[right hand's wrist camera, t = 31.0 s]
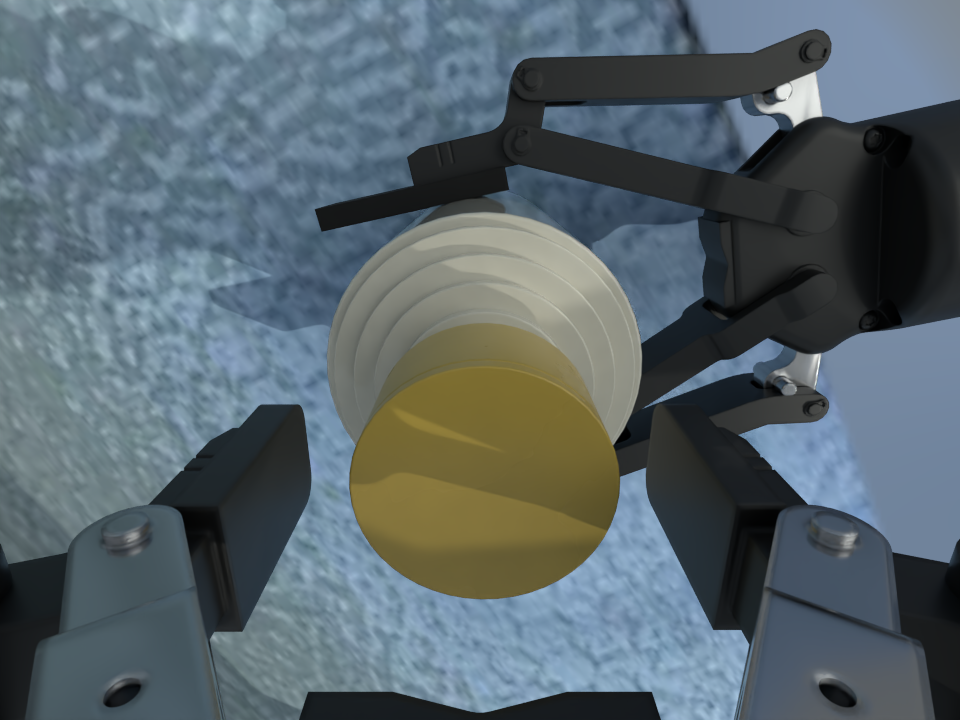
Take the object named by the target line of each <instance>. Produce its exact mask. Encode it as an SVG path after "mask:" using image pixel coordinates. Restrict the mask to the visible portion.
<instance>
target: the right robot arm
mask: <svg viewBox="0 0 960 720" xmlns="http://www.w3.org/2000/svg"><path fill="white" fill-rule="evenodd" d="M646 488H647V494H648V498H649V501H650V503H651V506H652V508H653V510H654V512H655V514H656V516H657V518H658V520H659V522H660V524H661V526H662V528H663V530H664V532H665V534H666V536H667V538H668V540H669V542H670V544H671V546H672V548H673V550H674V552H675V554H676V556H677V558H678V560H679V562H680V564H681V566H682V568H683V570H684V572H685V574H686V576H687V578H688V580H689V582H690V584H691V586H692V588H693V590H694V592H695V594H696V596H697V598H698V600H699V602H700V604H701V606H702V608H703V610H704V612H705V614H706V616H707V618H708V620H709V622H710V624H711V626H712V628H713V630H742V632H743V634H744V636H745V638H746V639H747V641H748V643H749V649H748V654H747V658H746V663H745V668H744V673H743V678H742V683H741V687H740V692H739V697H738V702H737V707H736V712H735V717H734V720H960V539H959V541H958V542H957V544H956V546H955V549H954V552H953V555H952V557H951V560H950V563H944V562H940V561H934V560H929V559H924V558H919V557H914V556H909V555H904V554H898V553H894V552H892V549H891V546H890V544H889V542H888V541H887V539H886V538H885V537H884V536H883V535H882V534H881V533H880V532H879V531H877V530H876V529H875V528H873V527H872V526H871V525H869V524H867V523H866V522H864V521H862V520H860V519H858V518H856V517H854V516H852V515H850V514H847V513H844V512H842V511H838V510H835V509H832V508H827V507H823V506H816V505H808V504H807V503H806V502H805V501H804V500H803V499H802V498H801V497H800V496H799V495H798V494H797V493H796V492H795V491H794V489H793V488H792V487H791V486H790V485H789V484H788V483H787V482H786V481H785V480H784V479H783V478H782V477H781V476H780V475H779V474H778V473H777V472H776V471H775V470H772V466H771V465H770V464H769V463H768V462H767V461H766V460H765V459H764V458H763V457H760V454H759V453H758V452H757V451H756V450H755V449H754V448H753V447H752V445H751V444H750V443H749V442H748V441H747V440H746V439H744V438H742V437H740V436H738V435H737V434H735V433H733V432H731V431H729V430H728V429H726V428H724V427H717V426H716V425H715V424H714V423H713V422H712V421H711V419H710V418H709V417H708V416H707V415H706V414H705V413H704V412H703V411H702V409H701V408H700V407H699V406H698V405H697V404H657V405H656V407H655V409H654V412H653V418H652V426H651V434H650V443H649V451H648V459H647V468H646ZM310 490H311V467H310V459H309V451H308V443H307V434H306V426H305V418H304V413H303V410H302V408H301V406H300V405H260V406H259V407H258V408H257V409H256V410H255V411H254V412H253V413H252V414H251V415H250V416H249V417H248V419H247V420H246V421H245V422H244V423H243V424H242V425H241V426H240V427H239V428H232V429H230V430H229V431H227V432H225V433H223V434H221V435H220V436H218V437H216V438H214V439H212V440H211V441H209V443H208V444H207V445H206V446H205V447H204V448H203V449H202V450H201V451H200V452H199V453H198V454H197V455H196V458H193V459H192V460H191V461H190V462H189V463H188V464H187V465H186V466H185V467H184V471H181V472H180V473H179V474H178V475H177V476H176V477H175V478H174V479H173V480H172V481H171V482H170V483H169V484H168V485H167V486H166V487H165V488H164V489H163V490H162V491H161V492H160V493H159V494H158V495H157V496H156V497H155V499H154V500H153V501H152V502H151V503H150V504H149V505H144V506H137V507H133V508H128V509H125V510H122V511H118V512H116V513H113V514H110V515H108V516H106V517H104V518H102V519H100V520H98V521H96V522H94V523H93V524H91V525H89V526H88V527H87V528H85V529H84V530H83V531H81V532H80V533H79V534H78V535H77V536H76V537H75V538H74V539H73V541H72V542H71V544H70V546H69V549H68V553H64V554H59V555H54V556H49V557H44V558H39V559H33V560H28V561H23V562H18V563H13V564H8V563H7V560H6V557H5V555H4V552H3V549H2V546H1V544H0V720H226V717H225V712H224V707H223V702H222V697H221V692H220V687H219V683H218V678H217V673H216V668H215V663H214V658H213V654H212V649H211V645H210V638H211V636H212V635H213V633H214V632H242V631H243V629H244V627H245V625H246V623H247V621H248V619H249V617H250V615H251V613H252V611H253V610H254V608H255V606H256V604H257V602H258V600H259V598H260V596H261V594H262V592H263V590H264V588H265V586H266V584H267V582H268V580H269V578H270V576H271V574H272V572H273V570H274V568H275V566H276V564H277V562H278V560H279V558H280V556H281V554H282V552H283V550H284V548H285V546H286V544H287V542H288V540H289V538H290V536H291V534H292V532H293V530H294V528H295V526H296V524H297V522H298V520H299V518H300V516H301V514H302V513H303V511H304V509H305V507H306V505H307V502H308V499H309V495H310ZM299 720H661V719H660V716H659V713H658V709H657V706H656V703H655V700H654V697H653V694H652V692H565V693H561V694H557V695H553V696H549V697H545V698H541V699H537V700H534V701H530V702H526V703H522V704H518V705H514V706H510V707H506V708H502V709H498V710H494V711H490V712H485V713H475V712H470V711H466V710H462V709H458V708H454V707H450V706H446V705H442V704H438V703H434V702H430V701H426V700H423V699H419V698H415V697H411V696H407V695H403V694H399V693H395V692H308V694H307V697H306V700H305V703H304V706H303V709H302V713H301V716H300V719H299Z"/></svg>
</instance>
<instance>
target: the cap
mask: <svg viewBox="0 0 960 720" xmlns="http://www.w3.org/2000/svg"><path fill="white" fill-rule="evenodd" d="M349 489H350V496H351V503H352V507H353V510H354V513H355V517H356V520H357V522H358V524H359V526H360V528H361V530H362V533H363V534H364V536H365V537H366V539H367V540H368V542H369V543H370V545H371V546H372V547H373V549H374V550H375V551H376V552H377V553H378V555H379V556H380V557H381V558H382V559H383V560H384V561H385V562H387V563H388V564H389V565H390V566H391V567H392V568H393V569H395V570H396V571H398V572H399V573H400V574H402V575H403V576H405V577H406V578H408V579H410V580H412V581H413V582H415V583H417V584H419V585H421V586H424V587H426V588H429V589H431V590H433V591H437V592H440V593H443V594H447V595H451V596H457V597H462V598H471V599H499V598H507V597H514V596H518V595H522V594H526V593H530V592H533V591H536V590H538V589H541V588H544V587H546V586H548V585H550V584H552V583H554V582H556V581H558V580H560V579H562V578H563V577H565V576H566V575H568V574H569V573H571V572H572V571H574V570H575V569H576V568H577V567H578V566H580V565H581V564H582V563H583V562H584V561H585V560H586V559H587V558H588V557H589V556H590V555H591V554H592V553H593V552H594V551H595V549H596V548H597V547H598V545H599V544H600V543H601V541H602V540H603V538H604V537H605V535H606V533H607V531H608V529H609V527H610V525H611V523H612V520H613V517H614V515H615V512H616V508H617V503H618V499H619V490H620V475H619V465H618V461H617V457H616V453H615V449H614V447H613V444H612V442H611V440H610V437H609V435H608V433H607V431H606V429H605V426H604V424H603V422H602V420H601V418H600V415H599V413H598V411H597V409H596V407H595V404H594V402H593V400H592V398H591V396H590V394H589V391H588V389H587V387H586V385H585V383H584V380H583V379H582V377H581V375H580V374H579V372H578V370H577V369H576V367H575V366H574V365H573V364H572V363H571V361H570V360H569V359H568V358H567V357H566V356H565V355H564V354H563V353H562V352H561V351H560V350H559V349H558V348H556V347H555V346H554V345H552V344H551V343H549V342H548V341H546V340H545V339H543V338H541V337H539V336H537V335H535V334H533V333H531V332H528V331H526V330H523V329H520V328H517V327H513V326H508V325H503V324H493V323H474V324H467V325H460V326H456V327H452V328H449V329H446V330H443V331H440V332H438V333H436V334H434V335H431V336H429V337H428V338H426V339H424V340H423V341H421V342H419V343H418V344H416V345H415V346H414V347H413V348H411V349H410V350H409V351H408V352H407V353H405V355H404V356H403V357H402V358H401V359H400V360H399V361H398V362H397V363H396V365H395V366H394V367H393V369H392V370H391V372H390V373H389V375H388V377H387V379H386V381H385V383H384V385H383V387H382V389H381V391H380V393H379V395H378V398H377V400H376V402H375V404H374V406H373V409H372V411H371V413H370V415H369V417H368V420H367V422H366V424H365V426H364V429H363V431H362V433H361V435H360V437H359V440H358V442H357V445H356V448H355V451H354V454H353V457H352V462H351V468H350V484H349Z"/></svg>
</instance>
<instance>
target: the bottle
mask: <svg viewBox="0 0 960 720" xmlns="http://www.w3.org/2000/svg"><path fill="white" fill-rule="evenodd" d="M474 323H493V324H503V325H508V326H513V327H517V328H520V329H523V330H526V331H528V332H531V333H533V334H535V335H537V336H539V337H541V338H543V339H545V340H546V341H548V342H549V343H551V344H552V345H554V346H555V347H556V348H558V349H559V350H560V351H561V352H562V353H563V354H564V355H565V356H566V357H567V358H568V359H569V360H570V361H571V363H572V364H573V365H574V366H575V367H576V369H577V370H578V372H579V374H580V375H581V377H582V379H583V380H584V383H585V385H586V387H587V389H588V391H589V394H590V396H591V398H592V400H593V402H594V404H595V407H596V409H597V411H598V413H599V415H600V418H601V420H602V422H603V424H604V426H605V429H606V431H607V433H608V435H609V437H610V440H611V442H612V444H613V445H614V443H615V442H616V440H617V439H618V437H619V436H620V434H621V433H622V431H623V430H624V428H625V426H626V423H627V421H628V419H629V417H630V415H631V413H632V410H633V407H634V404H635V401H636V398H637V395H638V391H639V385H640V380H641V373H642V349H641V339H640V333H639V329H638V325H637V321H636V317H635V314H634V312H633V309H632V307H631V304H630V302H629V300H628V297H627V296H626V294H625V292H624V290H623V289H622V287H621V285H620V284H619V282H618V280H617V279H616V278H615V276H614V275H613V274H612V273H611V271H610V270H609V269H608V268H607V266H606V265H605V264H604V263H603V262H602V261H601V260H600V259H599V258H598V257H597V256H596V255H595V254H594V253H593V252H592V251H591V250H590V249H588V248H587V247H586V246H585V245H584V244H582V243H581V242H580V241H579V240H578V239H576V238H575V237H574V236H573V235H571V234H570V233H569V232H568V231H567V230H565V229H564V228H563V227H562V226H560V225H559V224H558V223H557V222H556V221H554V220H553V219H552V218H551V217H549V216H548V215H547V214H546V213H545V212H543V211H542V210H541V209H540V208H539V207H537V206H536V205H534V204H533V203H532V202H530V201H529V200H527V199H525V198H523V197H521V196H519V195H517V194H514V193H511V192H509V191H502V192H497V193H493V194H488V195H484V196H480V197H475V198H471V199H466V200H461V201H456V202H452V203H448V204H444V205H439V206H435V207H430V208H429V209H427V210H426V211H425V212H424V213H423V214H421V215H420V216H419V217H418V218H417V219H415V220H414V221H413V222H412V223H411V224H409V225H408V226H407V227H406V228H405V229H403V230H402V231H401V232H400V233H399V234H397V235H396V236H395V237H394V238H393V239H391V240H390V241H389V242H388V243H387V244H385V245H384V246H383V247H382V248H381V249H380V250H379V251H377V252H376V253H375V254H374V255H373V256H372V257H371V258H370V259H369V260H368V261H367V262H366V263H365V264H364V265H363V266H362V268H361V269H360V270H359V271H358V273H357V274H356V275H355V276H354V278H353V279H352V280H351V282H350V284H349V285H348V287H347V289H346V290H345V292H344V294H343V296H342V297H341V300H340V302H339V305H338V307H337V309H336V312H335V314H334V317H333V321H332V325H331V329H330V333H329V339H328V348H327V374H328V380H329V385H330V391H331V395H332V398H333V401H334V404H335V408H336V411H337V413H338V415H339V417H340V419H341V421H342V424H343V426H344V428H345V429H346V431H347V433H348V434H349V436H350V437H351V439H352V440H353V442H354V444H355V445H357V442H358V440H359V437H360V435H361V433H362V431H363V429H364V426H365V424H366V422H367V420H368V417H369V415H370V413H371V411H372V409H373V406H374V404H375V402H376V400H377V398H378V395H379V393H380V391H381V389H382V387H383V385H384V383H385V381H386V379H387V377H388V375H389V373H390V372H391V370H392V369H393V367H394V366H395V365H396V363H397V362H398V361H399V360H400V359H401V358H402V357H403V356H404V355H405V353H407V352H408V351H409V350H410V349H411V348H413V347H414V346H415V345H416V344H418V343H419V342H421V341H423V340H424V339H426V338H428V337H429V336H431V335H434V334H436V333H438V332H440V331H443V330H446V329H449V328H452V327H456V326H460V325H467V324H474Z"/></svg>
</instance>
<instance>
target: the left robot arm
mask: <svg viewBox="0 0 960 720" xmlns="http://www.w3.org/2000/svg"><path fill="white" fill-rule="evenodd" d="M830 53H831V41H830V38H829V36H828V35H827V34H826V33H825V32H824V31H821V30H817V29H815V30H810V31H806V32H804V33H801V34H799V35H796V36H794V37H791V38H789V39H786V40H784V41H781V42H779V43H776V44H774V45H771V46H769V47H766V48H764V49H761V50H759V51H756V52H754V53H731V54H684V55H638V56H592V57H546V58H529V59H525V60H523V61H522V62H520V63H519V64H518V65H517V67H516V69H515V70H514V72H513V75H512V78H511V80H510V84H509V92H508V99H507V106H506V113H505V117H504V120H503V122H502V123H501V124H500V125H499V127H497V128H496V129H494V130H492V131H490V132H487V133H482V134H478V135H474V136H469V137H465V138H461V139H456V140H452V141H448V142H443V143H439V144H435V145H430V146H426V147H422V148H419V149H418V150H417V151H415V152H414V153H412V154H411V155H410V156H408V157H407V159H408V163H409V167H410V171H411V175H412V179H413V183H414V186H410V187H406V188H401V189H397V190H392V191H388V192H384V193H379V194H375V195H370V196H366V197H361V198H357V199H353V200H348V201H344V202H339V203H335V204H332V205H328V206H325V207H321V208H318V209H315V212H316V215H317V218H318V221H319V225H320V228H321V231H327V230H331V229H336V228H340V227H345V226H349V225H354V224H358V223H363V222H367V221H372V220H376V219H381V218H385V217H390V216H394V215H399V214H403V213H408V212H412V211H417V210H421V209H426V208H430V207H435V206H439V205H444V204H448V203H452V202H456V201H461V200H466V199H471V198H475V197H480V196H484V195H488V194H493V193H497V192H502V191H506V190H509V187H508V182H507V177H506V171H505V167H509V166H514V165H518V164H519V165H523V166H527V167H531V168H536V169H540V170H544V171H548V172H552V173H556V174H561V175H565V176H569V177H573V178H577V179H581V180H586V181H590V182H594V183H598V184H602V185H607V186H611V187H615V188H619V189H623V190H627V191H632V192H636V193H640V194H644V195H648V196H652V197H657V198H661V199H665V200H669V201H673V202H677V203H681V204H685V205H690V206H694V207H698V208H702V209H705V211H704V215H703V216H702V217H698V226H699V237H700V240H701V243H702V246H703V248H704V251H705V254H706V261H705V266H704V271H703V277H702V278H703V291H704V297H702V298H701V299H699V300H698V301H696V302H695V303H693V304H692V305H690V306H689V307H688V308H686V309H685V310H684V312H683V314H682V316H681V317H680V318H679V319H678V320H677V321H675V322H674V323H672V324H671V325H669V326H667V327H666V328H664V329H663V330H661V331H660V332H658V333H657V334H655V335H654V336H652V337H651V338H649V339H648V340H646V341H645V342H643V343H642V344H641V349H642V373H641V380H640V385H639V391H638V395H637V398H636V401H635V404H634V407H633V410H632V413H631V415H630V417H629V419H628V421H627V423H626V426H625V428H624V430H623V431H622V433H621V434H620V436H619V437H618V439H617V440H616V442H615V443H614V445H613V447H614V449H615V453H616V457H617V461H618V465H619V475H620V477H621V476H623V475H626V474H629V473H632V472H635V471H638V470H640V469H643V468H646V467H647V459H648V451H649V443H650V434H651V426H652V418H653V412H654V409H655V407H656V405H657V404H697V405H698V406H699V407H700V408H701V409H702V411H703V412H704V413H705V414H706V415H707V416H708V417H709V418H710V419H711V421H712V422H713V423H714V424H715V425H716V426H717V427H724V428H726V429H728V430H729V431H731V432H733V433H735V434H737V435H739V434H742V433H745V432H747V431H750V430H753V429H756V428H759V427H762V426H764V425H767V424H786V423H807V422H815V421H818V420H820V419H821V418H823V417H824V416H825V414H826V413H827V411H828V409H829V402H828V400H827V398H826V397H824V396H823V395H821V394H820V393H819V392H817V391H816V384H817V378H818V372H819V366H820V360H821V355H822V353H824V352H827V351H829V350H831V349H833V348H834V347H836V346H837V345H838V344H840V343H841V342H843V341H844V340H846V339H848V338H850V337H852V336H854V335H856V334H859V333H865V332H874V331H884V330H893V329H900V328H905V327H910V326H915V325H920V324H925V323H930V322H935V321H941V320H946V319H951V318H956V317H960V100H955V101H950V102H946V103H942V104H937V105H932V106H928V107H923V108H919V109H914V110H910V111H905V112H901V113H896V114H892V115H887V116H883V117H878V118H873V119H869V120H864V121H860V122H855V123H846V122H842V121H839V120H837V119H834V118H831V117H823V114H822V107H821V101H820V95H819V89H818V82H817V76H816V71H817V70H819V69H820V68H822V67H823V66H824V64H825V63H826V62H827V61H828V58H829V56H830ZM739 97H740V98H741V104H742V107H743V109H744V110H745V111H746V113H748V114H750V115H753V116H760V115H768V116H771V117H773V118H774V119H775V120H776V121H777V123H778V125H779V129H778V130H777V131H776V132H775V133H774V134H773V135H772V136H771V137H770V138H769V139H768V140H767V141H766V142H765V143H764V144H763V145H762V146H761V147H760V148H759V149H758V150H757V151H756V152H755V153H754V154H753V155H752V156H751V157H750V158H749V159H748V160H747V161H746V162H745V163H744V164H743V165H742V166H741V167H740V168H739V169H738V170H737V171H736V172H735V173H734V174H730V173H726V172H721V171H715V170H709V169H705V168H700V167H696V166H692V165H688V164H684V163H680V162H676V161H672V160H668V159H664V158H660V157H655V156H651V155H647V154H643V153H639V152H635V151H631V150H627V149H623V148H619V147H615V146H611V145H607V144H602V143H598V142H594V141H590V140H586V139H582V138H578V137H574V136H570V135H566V134H562V133H558V132H554V131H549V130H545V129H541V127H542V120H543V114H544V108H545V107H570V106H618V105H666V104H706V103H717V102H722V101H727V100H731V99H735V98H739ZM766 338H769V339H771V340H773V341H775V342H777V343H780V344H782V345H784V348H783V351H782V352H781V354H780V355H779V356H778V357H776V358H775V359H773V360H770V361H767V362H758V363H756V364H755V365H754V367H753V372H754V373H746V374H740V375H735V376H731V377H728V378H725V379H722V380H719V381H716V382H714V383H711V384H708V385H706V386H703V387H700V388H697V389H695V390H692V391H689V392H687V393H684V394H681V395H679V396H676V397H673V398H670V399H668V400H665V401H662V402H660V403H657V404H654V405H652V406H649V407H646V408H644V407H645V406H647V405H649V404H650V403H652V402H653V401H655V400H657V399H658V398H660V397H661V396H663V395H664V394H666V393H668V392H669V391H671V390H672V389H674V388H676V387H677V386H679V385H680V384H682V383H683V382H685V381H687V380H688V379H690V378H691V377H693V376H695V375H696V374H698V373H699V372H701V371H702V370H704V369H706V368H707V367H709V366H710V365H712V364H714V363H715V362H717V361H719V360H727V359H732V358H735V357H737V356H739V355H741V354H743V353H744V352H746V351H747V350H749V349H750V348H752V347H754V346H755V345H757V344H758V343H760V342H762V341H763V340H765V339H766ZM642 408H643V409H642Z"/></svg>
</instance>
